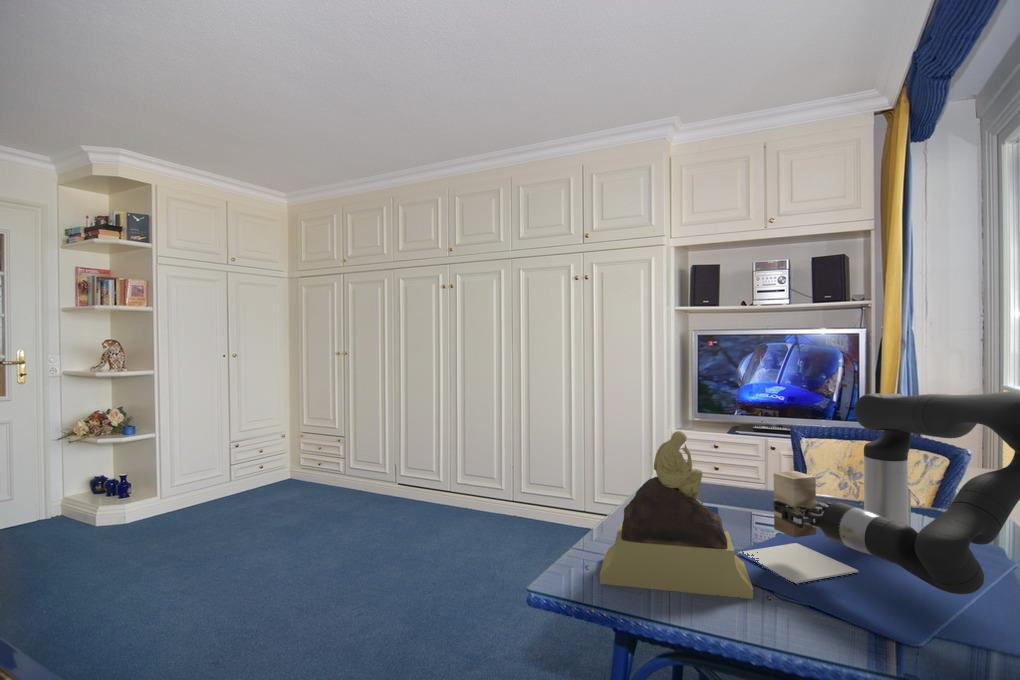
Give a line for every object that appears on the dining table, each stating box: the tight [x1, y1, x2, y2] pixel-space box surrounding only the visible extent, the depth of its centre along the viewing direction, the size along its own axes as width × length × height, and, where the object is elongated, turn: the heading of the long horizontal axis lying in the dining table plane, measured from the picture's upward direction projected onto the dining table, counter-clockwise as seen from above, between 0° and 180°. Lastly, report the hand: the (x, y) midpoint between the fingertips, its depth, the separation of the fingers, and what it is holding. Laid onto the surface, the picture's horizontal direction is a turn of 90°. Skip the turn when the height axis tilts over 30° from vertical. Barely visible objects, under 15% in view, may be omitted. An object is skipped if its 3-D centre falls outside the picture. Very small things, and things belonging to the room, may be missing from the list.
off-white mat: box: [738, 542, 859, 583], centre depth 120 cm, size 16×16×1 cm
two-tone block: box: [773, 470, 817, 539], centre depth 120 cm, size 6×6×12 cm
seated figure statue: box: [599, 430, 754, 600], centre depth 114 cm, size 28×13×30 cm, turn 75°
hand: (786, 503), depth 122 cm, fingers closed on two-tone block, 5 cm apart
